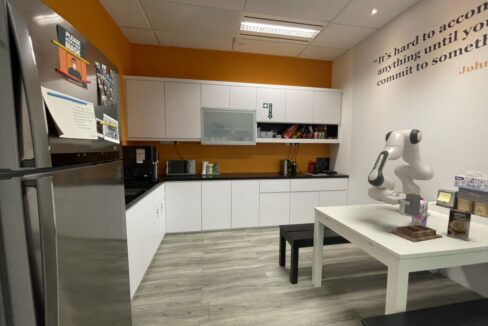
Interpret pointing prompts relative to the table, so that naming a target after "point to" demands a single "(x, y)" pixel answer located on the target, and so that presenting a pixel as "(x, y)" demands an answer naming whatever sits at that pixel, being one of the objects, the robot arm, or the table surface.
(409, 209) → the battery cell
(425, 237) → the walnut cell rack
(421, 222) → the candy box
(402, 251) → the table surface
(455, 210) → the coffee box
